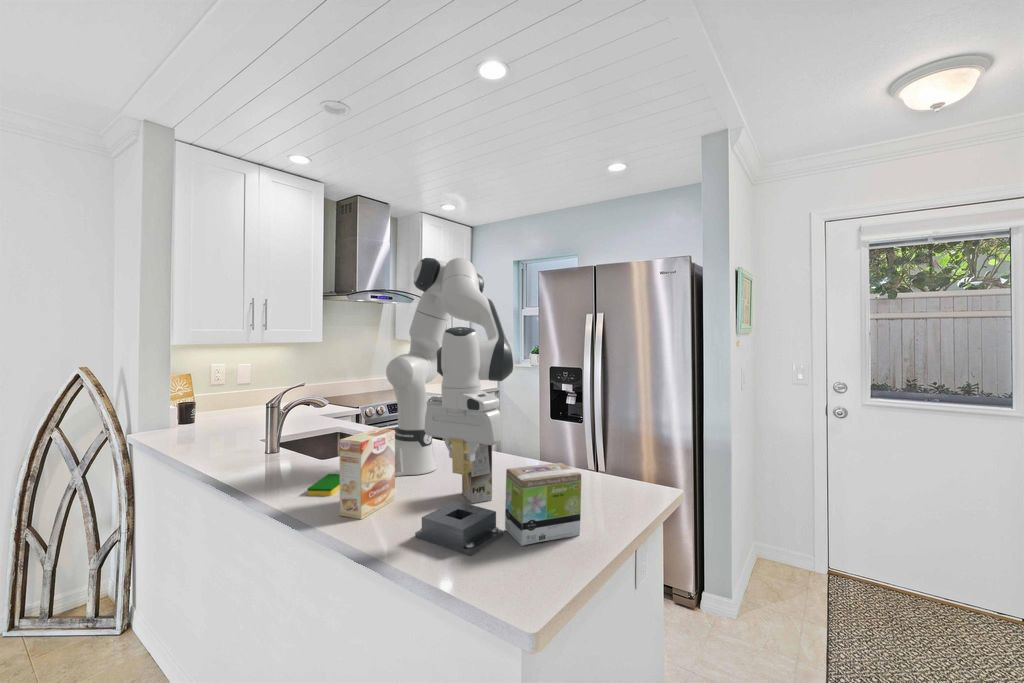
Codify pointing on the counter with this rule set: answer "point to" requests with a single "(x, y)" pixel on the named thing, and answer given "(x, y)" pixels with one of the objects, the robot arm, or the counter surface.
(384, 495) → the coffeecake box
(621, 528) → the counter surface
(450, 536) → the grey square socket block
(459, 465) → the wooden square peg
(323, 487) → the dish sponge
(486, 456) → the coffee box
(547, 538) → the tea box
